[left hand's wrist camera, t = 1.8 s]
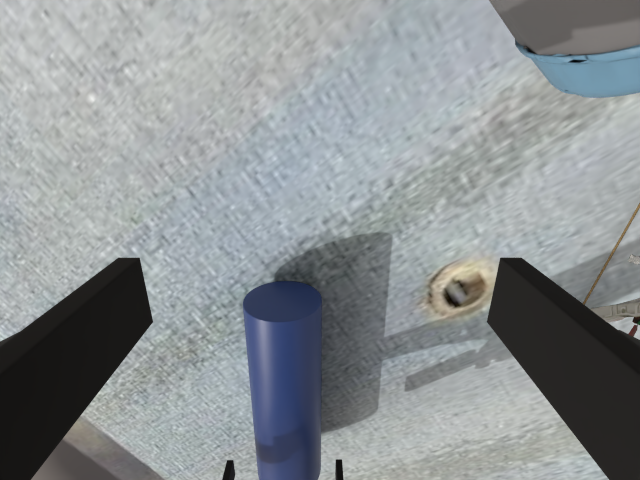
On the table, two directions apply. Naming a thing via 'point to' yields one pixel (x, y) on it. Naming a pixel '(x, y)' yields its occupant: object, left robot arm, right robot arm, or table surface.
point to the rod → (285, 378)
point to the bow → (620, 311)
